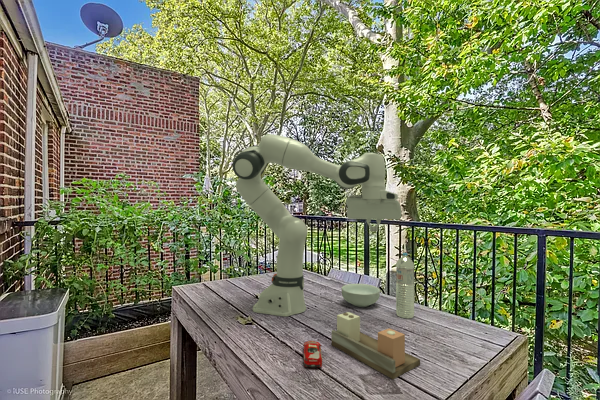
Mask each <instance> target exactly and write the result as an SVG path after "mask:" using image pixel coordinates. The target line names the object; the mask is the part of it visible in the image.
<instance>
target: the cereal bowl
mask: <svg viewBox="0 0 600 400" xmlns="http://www.w3.org/2000/svg"><path fill="white" fill-rule="evenodd" d="M380 294H381V289H379V287H378V286H375V285H371V284H366V283H348V284H345V285H343V286H342V287H341V295H342V297H343V299H344V300H345V301H346V302H347V303H349V304H351V305H352V306H355V307H359V308H366V307H369V306H370V305H373V304H375V303H377V302H378V301H379V298H380Z"/></svg>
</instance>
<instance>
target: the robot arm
mask: <svg viewBox="0 0 600 400" xmlns="http://www.w3.org/2000/svg"><path fill="white" fill-rule="evenodd" d="M270 163H271V164H276V165H278V166H281V167H284V168H289V169H292V170H296V171H297V170H298V171H303V172H310V173H314V174H316V175H320V176H321V177H324V178H328V179H330V180H332V181H334V182H335V183H336V184H337V185H338V186H339V187H340V188H342V189H346V190H350V189H353V188H355V187H357V185H359V186H361V194H356V195H355V194H354V195H353V194H350V195H349V196H347V197H346V199H345V205H346V207H347V210H346V218H347V219H348V220H366V223H367V225H368V228H369V232H378V230H379V229H378V228H379V226H380V224H381V222H382V221H381V220H396V221H397V220H400V219H401V218H402V207H401V203H400V201H398V198H399V195H398V193H394V192H392V191H389V190H386V184H385V180H386V179H385V178H386V163H385V159H384V156H383V155H381V154H380V153H377V152H372V151H369V152H364V153H363V154H362V155H360V156H359V157H357V158H354V159H351V160H349V161H346V162H344V163H343V164H341V165H339V164H335V163H333V162H330V161H328V160H326V159H325V160H324V159H322V158H320V157H319V156H317V155H316V154H314V153H313V152H312V151H311V149H310V148H309V146H307V145H306V144H304V143H302V142H300V141H298V140H297V139H294V138H290V137H287V136H284V135H279V134H273V133H269V134H266V135H264V136H262V137H261V139H260V142H259V144H258V145H256V144H254V145H251V146H249V147H246V148H244V149H243V150H242V151H241V152H239V153H238V154H236V156H235V157H234V159H233V161H232V170H233V173H234V174H235V176H237V177H238V179H237V181H236V182H235V188H236V190H237V192H238V193H239V195H240V197H241V198H242V199H243V200H244V202H245V203H246V204H247V205H248V206H249V207H250V208H251V209H252V210H253V211H254V213H256V214H257V215H258V216H259V218H260V219H261V220H262V221H263V222H264V223H265V225H266V226H267V227H268V228H269V229H270V230H271V231H272V232H273V233H274V235H275V236H276V237H277V238H278V241H279V242H278V249H277V255H276V273H274V274H273V275H272V277H271V284H269V286H267V287H266V288H265V289H264V290H263V291H262V292H261V293H260V294H259V297H258V301H257V302H255V304H254V305H253V306H252V312H253V313H258V314H264V315H272V316H277V317H290V316H292V315H297V314H301V313H304V312H306V311H307V306H306V301H305V294H304V288H305V276H304V274H303V271H304V269H303V266H304V265H303V263H304V260H303V259H304V252H305V245H306V240H307V239H306V238H307V236H308V227H307V225H306V223H305V221H303V219H301V218H299V217H295V216H293V215H292V214H291V213H290V211H289V210H288V208H286V206H285V205H284V203H283V201H282V200H281V199H280V198H279V197H278V196H277V194H275V192H273V190H272V189H271V188H269V186H268V185H267V184H266V183H265V182H264V181H263V179H262V176H261V175H263V173H264V171H265V170H266V168H267V166H268V164H270ZM372 220H376V224H375V226H372V225H371V221H372Z"/></svg>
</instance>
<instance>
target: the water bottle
mask: <svg viewBox="0 0 600 400" xmlns="http://www.w3.org/2000/svg"><path fill="white" fill-rule="evenodd" d="M395 264H396V265H395V268H396V283H395V284H396V285H395V289H396V290H395V291H396V292H395V298H396V299H395V311H396V312H395V313H396V315H397V316H398V317H399V318H402V319H406V320H407V319H412V318H414V316H415V275H414V273H415V269H414V268H415V264H414V262H413V260H412V259H411V258H410V257H408V253H407V252H402V257H400V258H398V260H397V261H396V263H395Z"/></svg>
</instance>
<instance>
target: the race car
mask: <svg viewBox="0 0 600 400" xmlns="http://www.w3.org/2000/svg"><path fill="white" fill-rule="evenodd" d="M302 347H303V366H304V367H306V368H321V367H323V355H322V344H321V343H320V342H318V341H315V340H309V341H305V342H304V343H303V344H302Z"/></svg>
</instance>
